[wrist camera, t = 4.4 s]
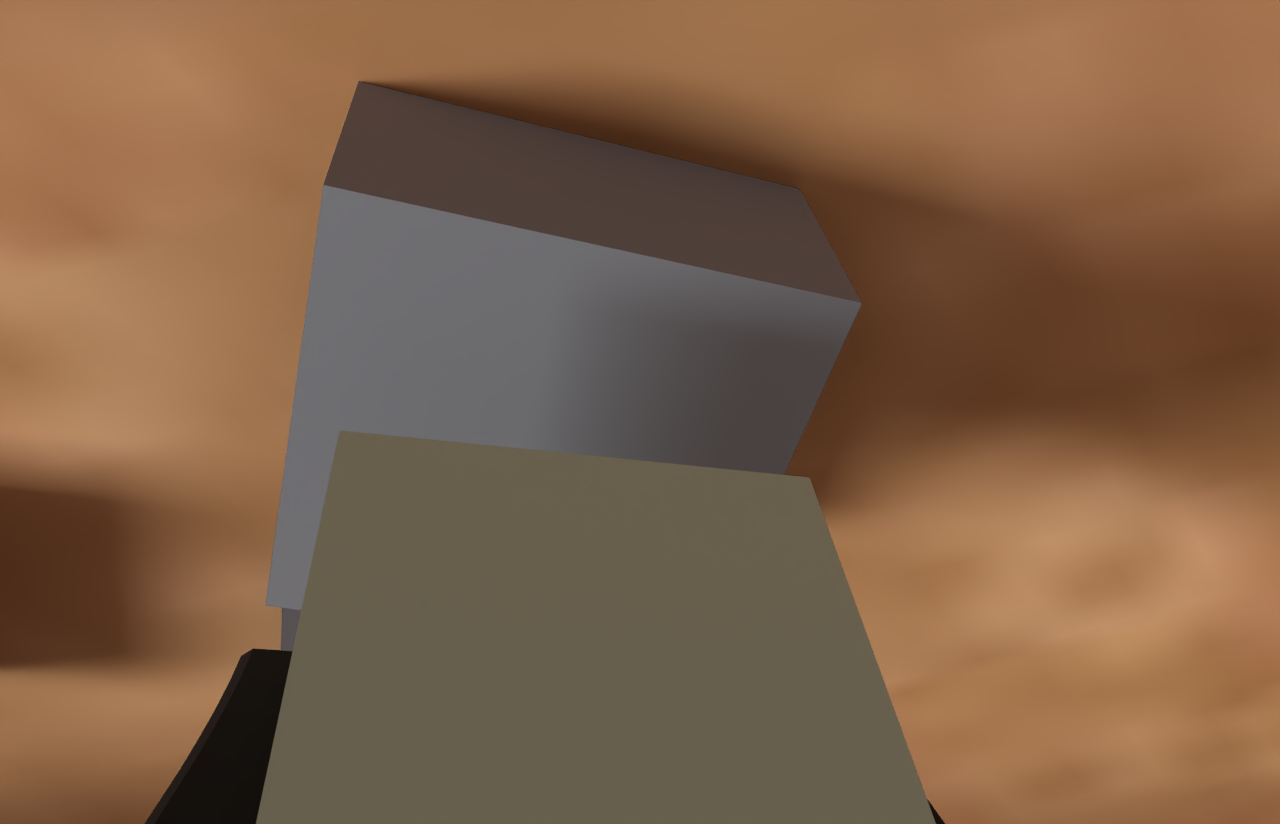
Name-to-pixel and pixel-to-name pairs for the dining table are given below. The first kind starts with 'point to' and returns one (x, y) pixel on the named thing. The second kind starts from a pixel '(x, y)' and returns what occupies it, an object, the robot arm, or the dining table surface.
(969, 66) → the dining table surface
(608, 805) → the sage block
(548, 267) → the slate base
